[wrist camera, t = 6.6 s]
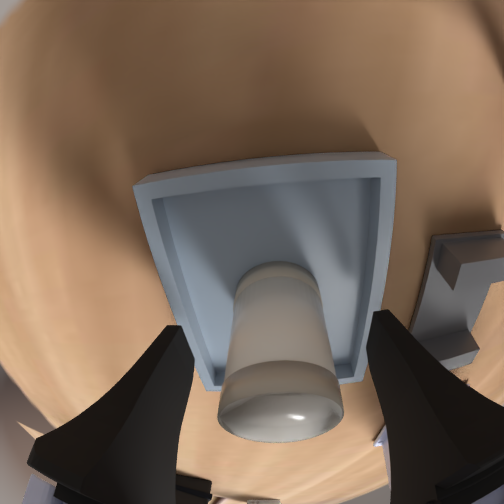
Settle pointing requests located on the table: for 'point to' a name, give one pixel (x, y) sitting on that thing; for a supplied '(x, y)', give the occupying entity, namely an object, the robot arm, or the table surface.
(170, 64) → the table surface
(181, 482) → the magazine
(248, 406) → the white cylindrical jar
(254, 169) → the tray
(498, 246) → the holder
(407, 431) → the robot arm
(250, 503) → the supplement box
